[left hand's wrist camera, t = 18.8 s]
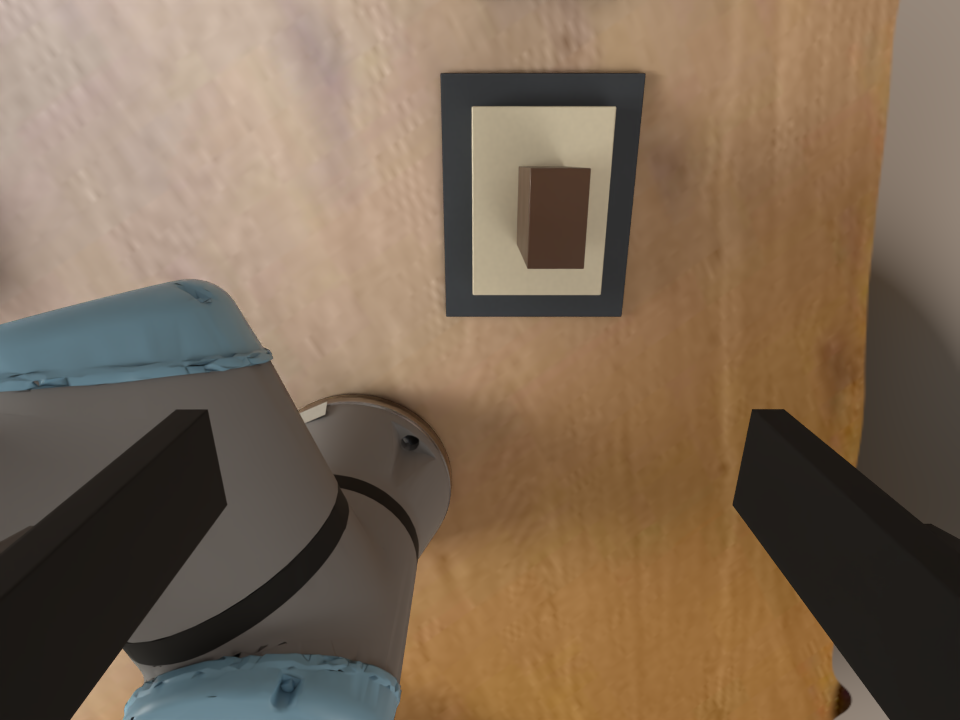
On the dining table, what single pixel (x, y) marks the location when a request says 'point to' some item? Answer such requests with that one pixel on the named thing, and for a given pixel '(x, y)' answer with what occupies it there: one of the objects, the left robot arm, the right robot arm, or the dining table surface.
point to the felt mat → (457, 183)
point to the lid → (540, 198)
